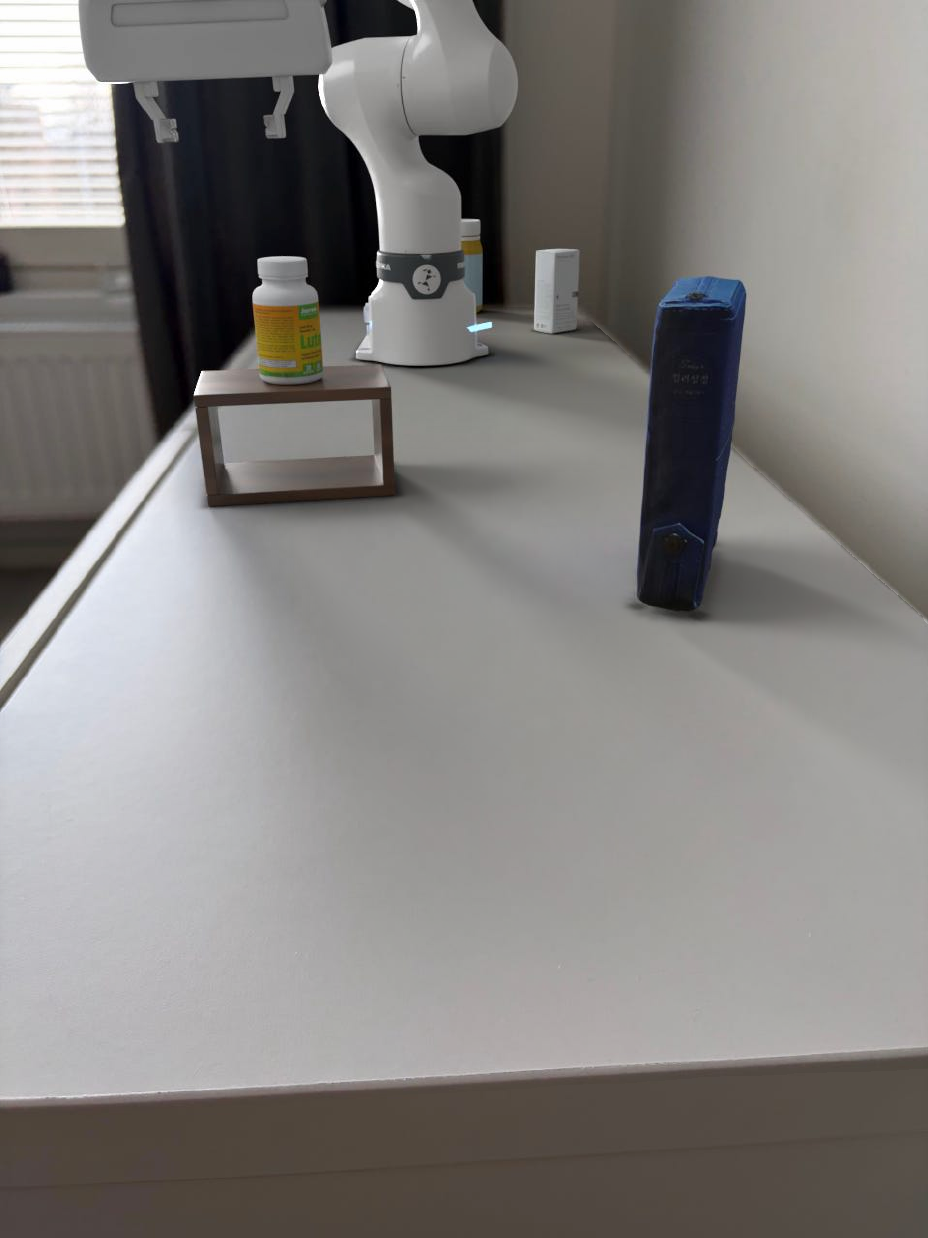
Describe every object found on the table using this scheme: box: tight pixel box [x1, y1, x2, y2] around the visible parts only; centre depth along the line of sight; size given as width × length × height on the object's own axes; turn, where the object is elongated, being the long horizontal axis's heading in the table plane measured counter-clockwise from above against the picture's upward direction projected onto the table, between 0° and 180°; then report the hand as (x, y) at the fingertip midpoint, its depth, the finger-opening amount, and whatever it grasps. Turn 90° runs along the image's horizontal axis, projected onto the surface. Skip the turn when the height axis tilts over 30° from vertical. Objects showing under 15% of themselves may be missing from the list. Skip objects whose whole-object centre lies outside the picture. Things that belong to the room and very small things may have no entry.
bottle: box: [461, 218, 484, 314], centre depth 168 cm, size 7×7×15 cm
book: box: [636, 275, 747, 613], centre depth 64 cm, size 14×5×20 cm, turn 163°
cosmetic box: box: [533, 248, 581, 334], centre depth 152 cm, size 6×4×12 cm
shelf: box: [193, 363, 396, 507], centre depth 85 cm, size 9×16×10 cm, turn 100°
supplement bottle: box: [252, 255, 324, 385], centre depth 80 cm, size 5×5×10 cm
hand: (222, 140), depth 83 cm, fingers open, 8 cm apart
